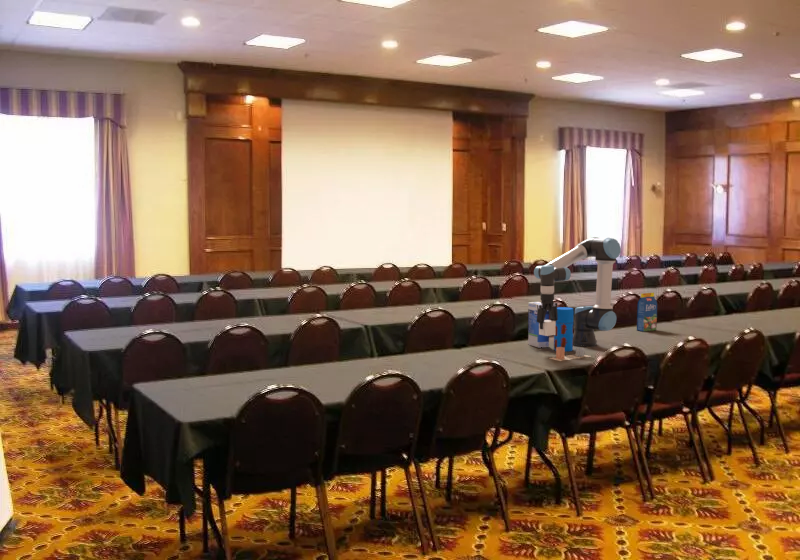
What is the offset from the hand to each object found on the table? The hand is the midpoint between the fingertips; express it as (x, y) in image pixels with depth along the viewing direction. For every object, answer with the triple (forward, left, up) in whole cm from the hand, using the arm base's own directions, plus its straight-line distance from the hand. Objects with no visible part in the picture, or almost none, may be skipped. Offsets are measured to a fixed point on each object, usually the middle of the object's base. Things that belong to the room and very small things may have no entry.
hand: (547, 334), depth 480 cm
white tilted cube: (0, 0, 0) cm, 0 cm away
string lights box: (-18, -26, -12) cm, 34 cm away
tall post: (+3, +14, -11) cm, 18 cm away
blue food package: (-118, -29, -12) cm, 122 cm away
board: (-4, +15, -12) cm, 19 cm away
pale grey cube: (-11, +15, -11) cm, 22 cm away
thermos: (-17, -4, -12) cm, 21 cm away
